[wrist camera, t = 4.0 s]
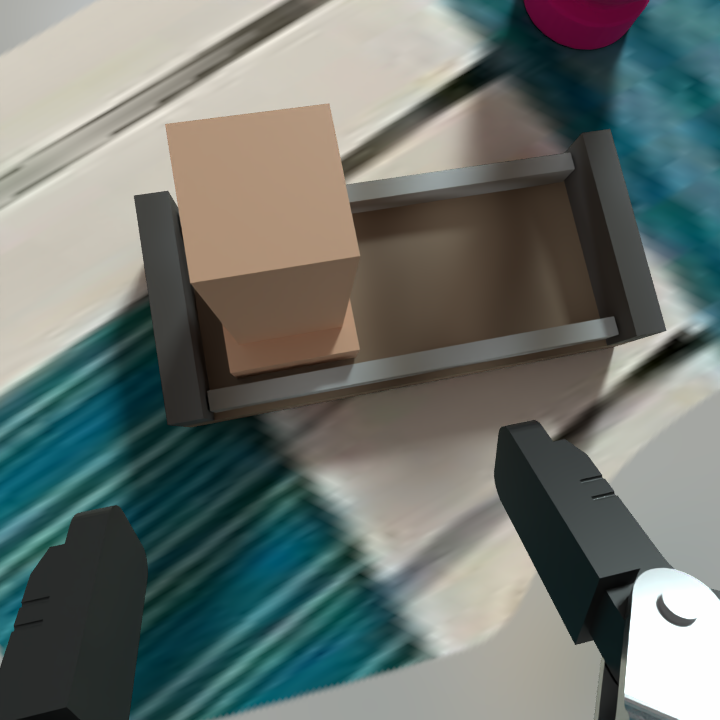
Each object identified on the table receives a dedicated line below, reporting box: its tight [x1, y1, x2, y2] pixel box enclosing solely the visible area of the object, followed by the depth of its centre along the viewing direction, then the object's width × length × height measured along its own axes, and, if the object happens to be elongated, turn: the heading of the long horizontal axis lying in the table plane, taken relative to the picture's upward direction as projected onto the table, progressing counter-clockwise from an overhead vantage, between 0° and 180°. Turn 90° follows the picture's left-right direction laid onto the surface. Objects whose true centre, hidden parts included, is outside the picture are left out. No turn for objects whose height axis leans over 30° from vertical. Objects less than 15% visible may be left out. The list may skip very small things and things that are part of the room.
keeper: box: [165, 104, 360, 379], centre depth 17 cm, size 5×6×10 cm
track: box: [134, 129, 666, 427], centre depth 23 cm, size 20×9×4 cm, turn 102°
